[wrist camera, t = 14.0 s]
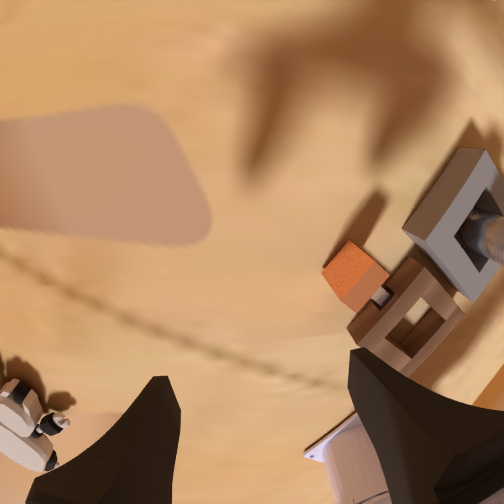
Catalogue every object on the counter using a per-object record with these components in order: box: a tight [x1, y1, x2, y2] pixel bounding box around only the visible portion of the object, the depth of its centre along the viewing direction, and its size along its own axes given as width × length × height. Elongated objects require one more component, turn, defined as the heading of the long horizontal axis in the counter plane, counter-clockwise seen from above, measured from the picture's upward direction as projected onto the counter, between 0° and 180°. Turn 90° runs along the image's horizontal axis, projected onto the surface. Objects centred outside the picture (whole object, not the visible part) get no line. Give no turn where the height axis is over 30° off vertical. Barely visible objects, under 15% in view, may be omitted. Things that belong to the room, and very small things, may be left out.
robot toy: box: [0, 378, 70, 473], centre depth 22 cm, size 12×4×15 cm
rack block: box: [402, 147, 504, 303], centre depth 18 cm, size 8×8×3 cm
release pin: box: [321, 240, 393, 313], centre depth 18 cm, size 6×3×4 cm, turn 52°
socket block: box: [347, 256, 465, 378], centre depth 21 cm, size 7×7×2 cm
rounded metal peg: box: [454, 207, 504, 266], centre depth 16 cm, size 3×3×8 cm
